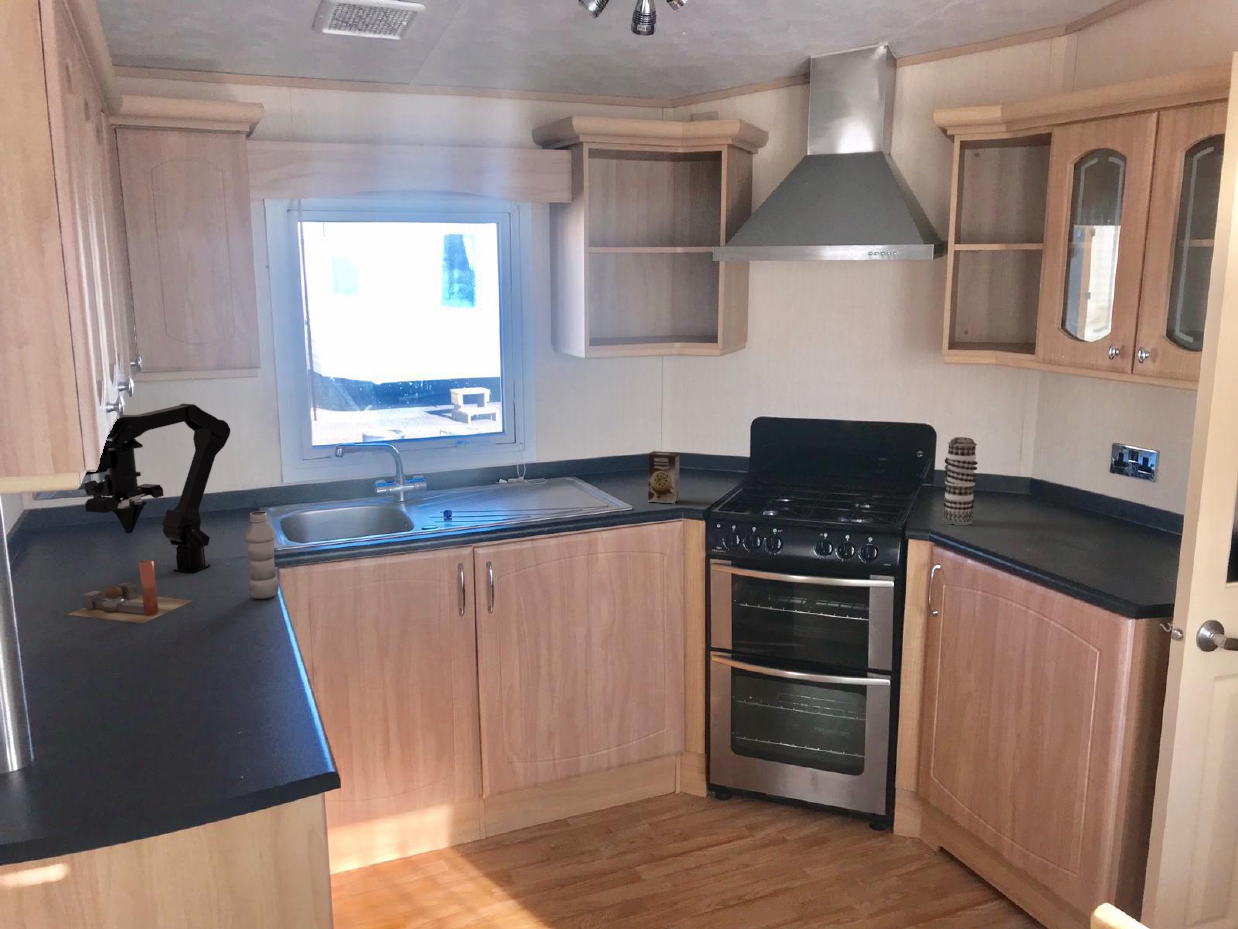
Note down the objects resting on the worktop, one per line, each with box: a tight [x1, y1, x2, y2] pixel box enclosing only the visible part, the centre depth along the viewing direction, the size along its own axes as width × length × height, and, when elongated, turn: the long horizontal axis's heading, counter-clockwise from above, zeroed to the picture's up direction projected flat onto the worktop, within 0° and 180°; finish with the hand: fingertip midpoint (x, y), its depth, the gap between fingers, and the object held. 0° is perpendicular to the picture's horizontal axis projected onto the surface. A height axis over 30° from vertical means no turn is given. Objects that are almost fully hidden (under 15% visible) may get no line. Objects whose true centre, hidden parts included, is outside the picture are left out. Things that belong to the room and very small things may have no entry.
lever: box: [82, 559, 159, 615], centre depth 214 cm, size 18×4×11 cm, turn 73°
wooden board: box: [67, 582, 193, 624], centre depth 217 cm, size 15×20×4 cm
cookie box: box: [647, 450, 681, 503], centre depth 317 cm, size 9×6×16 cm
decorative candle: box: [942, 436, 978, 522], centre depth 287 cm, size 9×9×25 cm
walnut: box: [104, 585, 123, 599], centre depth 221 cm, size 4×4×4 cm
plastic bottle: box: [244, 510, 280, 600], centre depth 226 cm, size 6×7×20 cm
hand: (129, 533), depth 234 cm, fingers closed
